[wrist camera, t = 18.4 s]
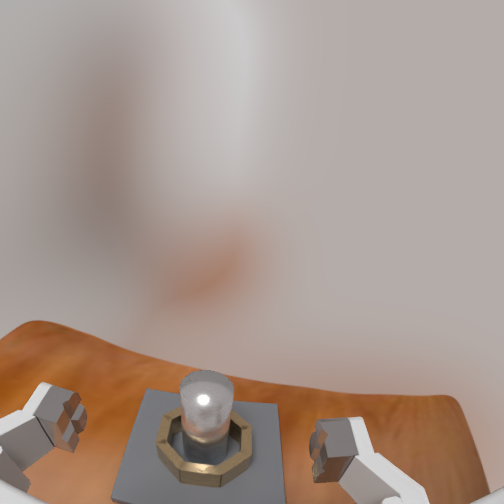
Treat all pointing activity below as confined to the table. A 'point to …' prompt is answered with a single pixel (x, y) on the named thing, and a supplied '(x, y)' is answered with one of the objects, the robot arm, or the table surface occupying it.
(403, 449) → the table surface
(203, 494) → the base plate
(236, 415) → the bronze ring
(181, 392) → the piston
